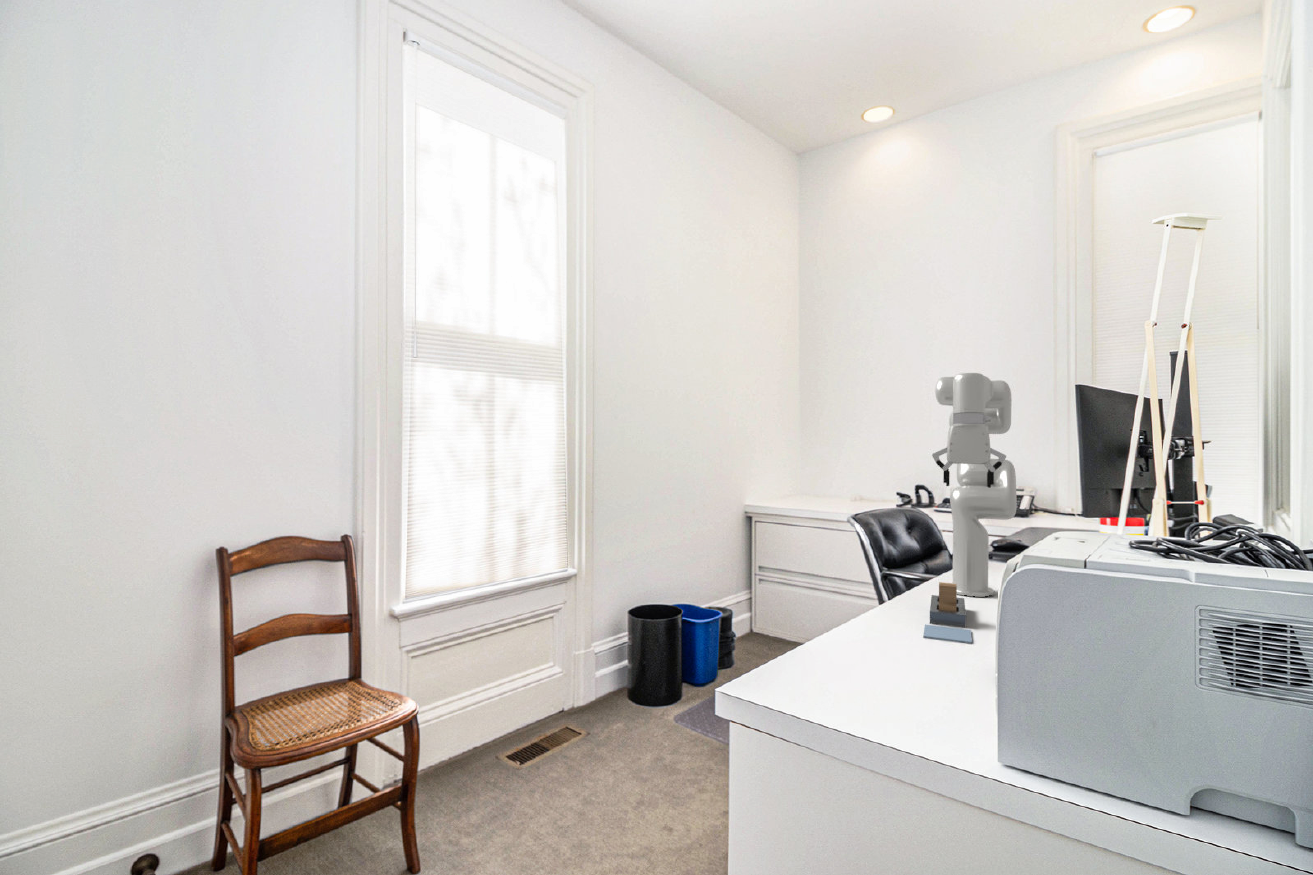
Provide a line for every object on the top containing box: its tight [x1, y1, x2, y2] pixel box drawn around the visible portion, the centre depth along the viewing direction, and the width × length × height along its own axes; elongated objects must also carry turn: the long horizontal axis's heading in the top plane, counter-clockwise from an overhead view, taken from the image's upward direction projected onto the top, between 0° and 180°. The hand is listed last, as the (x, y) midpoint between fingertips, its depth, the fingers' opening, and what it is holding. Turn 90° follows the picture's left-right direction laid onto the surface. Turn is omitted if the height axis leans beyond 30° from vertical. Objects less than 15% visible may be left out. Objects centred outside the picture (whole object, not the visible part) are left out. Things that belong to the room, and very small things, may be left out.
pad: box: [922, 624, 973, 645], centre depth 151 cm, size 10×10×1 cm
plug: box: [938, 581, 958, 612], centre depth 162 cm, size 4×4×9 cm
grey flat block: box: [929, 594, 967, 628], centre depth 166 cm, size 18×8×3 cm, turn 155°
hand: (968, 486), depth 167 cm, fingers open, 9 cm apart
